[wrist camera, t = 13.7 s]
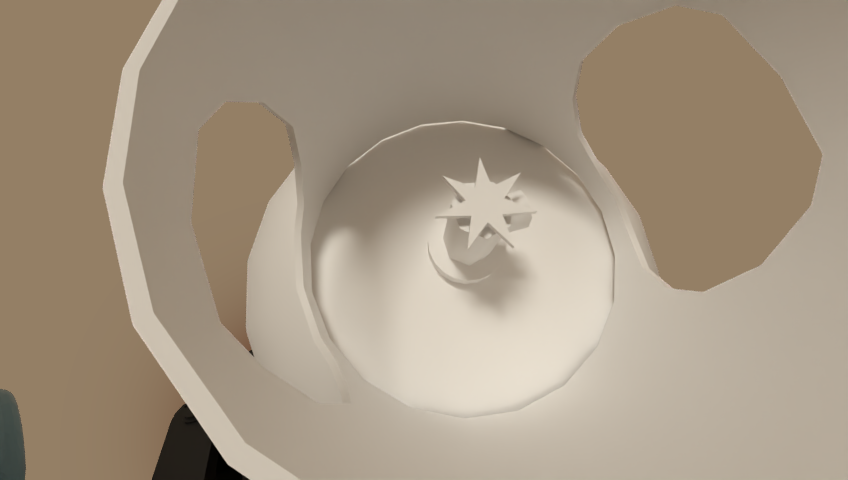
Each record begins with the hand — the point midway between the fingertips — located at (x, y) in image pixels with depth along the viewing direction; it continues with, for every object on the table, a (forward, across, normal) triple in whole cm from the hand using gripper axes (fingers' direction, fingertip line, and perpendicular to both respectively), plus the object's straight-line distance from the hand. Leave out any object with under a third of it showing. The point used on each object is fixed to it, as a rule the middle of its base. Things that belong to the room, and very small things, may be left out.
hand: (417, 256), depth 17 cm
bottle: (+7, 0, -12) cm, 13 cm away
